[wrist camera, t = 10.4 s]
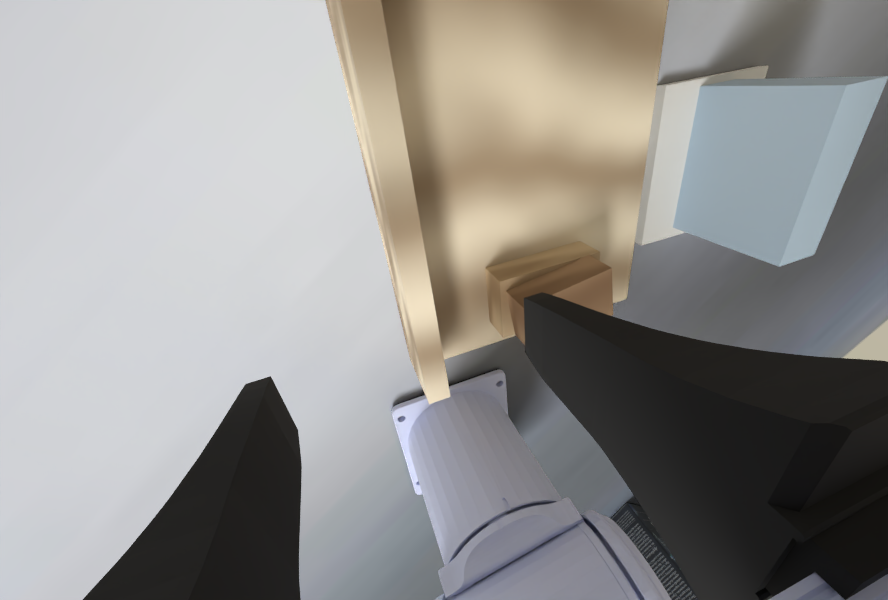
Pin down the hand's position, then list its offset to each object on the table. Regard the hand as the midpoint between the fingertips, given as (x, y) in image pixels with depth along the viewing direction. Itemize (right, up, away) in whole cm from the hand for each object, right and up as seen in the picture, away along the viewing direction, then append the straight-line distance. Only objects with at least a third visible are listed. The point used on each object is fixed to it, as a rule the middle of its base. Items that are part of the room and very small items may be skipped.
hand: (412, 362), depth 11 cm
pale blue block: (+16, +10, +12) cm, 23 cm away
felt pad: (+16, +10, +12) cm, 23 cm away
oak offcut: (+6, +3, +12) cm, 13 cm away
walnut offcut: (+7, +2, +10) cm, 12 cm away
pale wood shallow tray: (+5, +8, +9) cm, 13 cm away
